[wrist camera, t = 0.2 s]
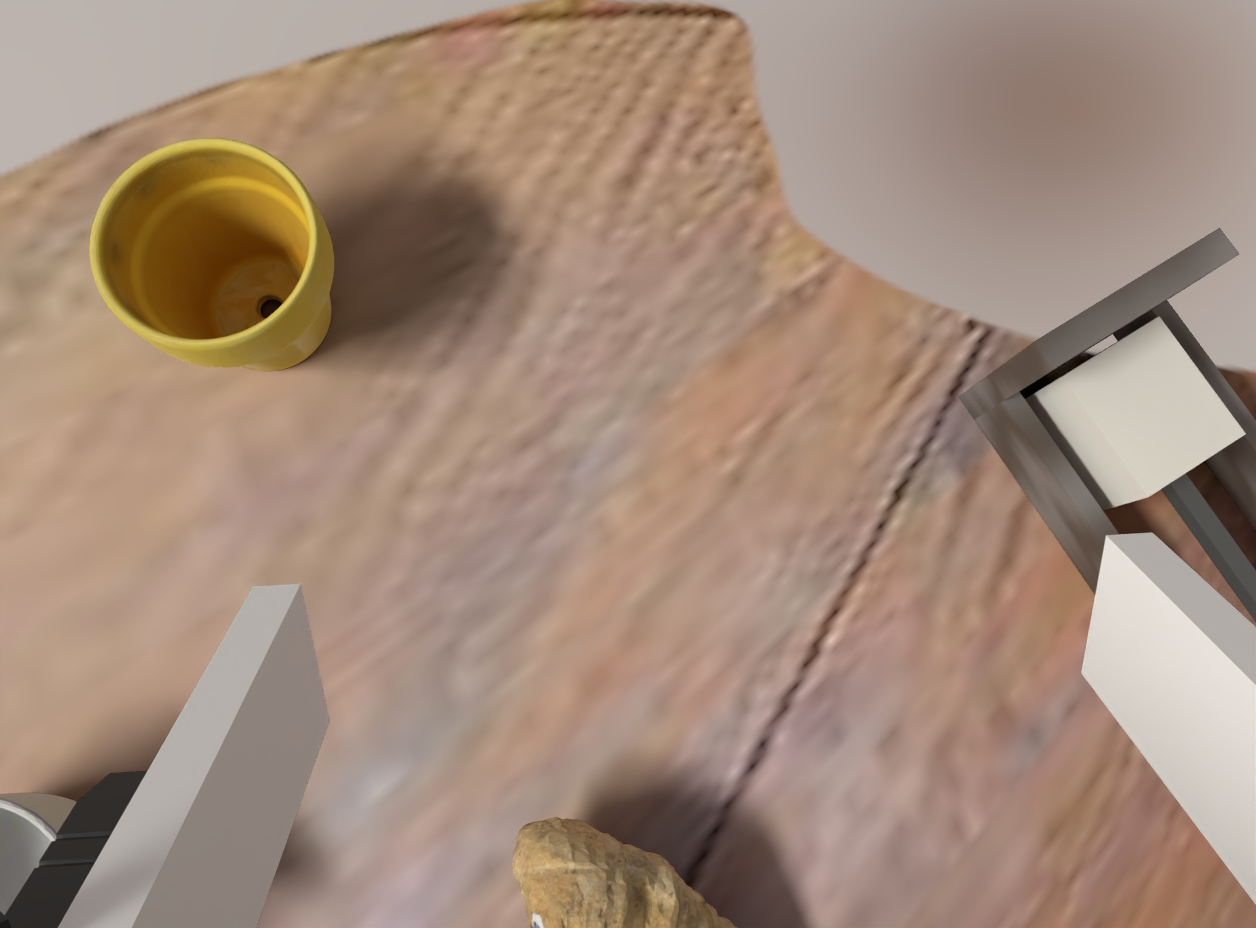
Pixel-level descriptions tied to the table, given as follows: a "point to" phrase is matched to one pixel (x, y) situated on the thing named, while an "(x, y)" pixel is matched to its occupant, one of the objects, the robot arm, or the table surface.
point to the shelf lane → (996, 404)
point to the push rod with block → (1147, 435)
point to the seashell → (601, 882)
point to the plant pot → (215, 256)
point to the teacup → (26, 837)
